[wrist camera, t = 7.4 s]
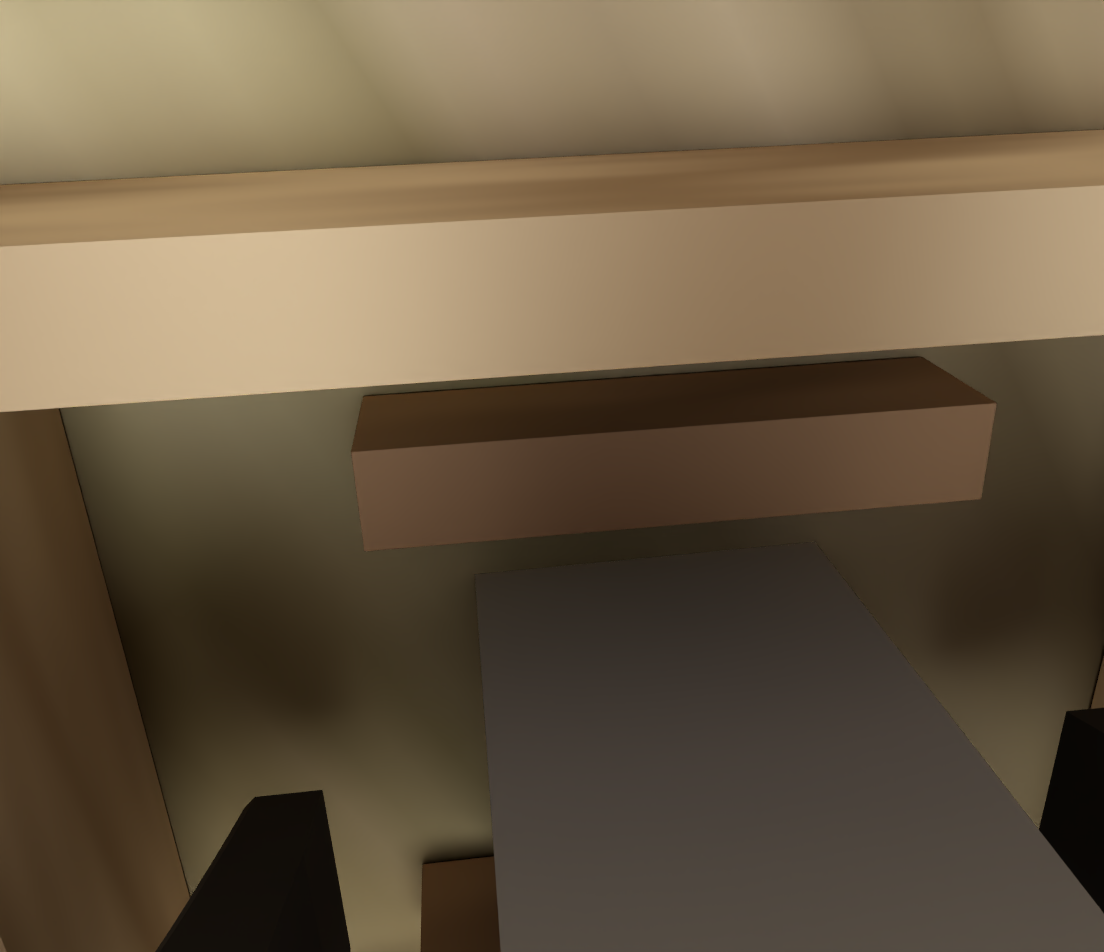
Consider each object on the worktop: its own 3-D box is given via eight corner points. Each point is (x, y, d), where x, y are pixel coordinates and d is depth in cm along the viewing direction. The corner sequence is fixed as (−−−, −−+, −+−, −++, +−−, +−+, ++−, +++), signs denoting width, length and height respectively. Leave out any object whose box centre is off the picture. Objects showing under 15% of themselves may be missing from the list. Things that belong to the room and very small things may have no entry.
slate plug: (814, 541, 11) (1288, 1151, 5) (793, 802, 13) (1129, 1505, 7) (475, 573, 11) (523, 1270, 5) (499, 837, 12) (559, 1611, 6)
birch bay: (1325, 119, 10) (1762, 148, 6) (1092, 946, 15) (1274, 1196, 11) (-118, 191, 8) (-455, 271, 5) (160, 1066, 13) (73, 1382, 10)
